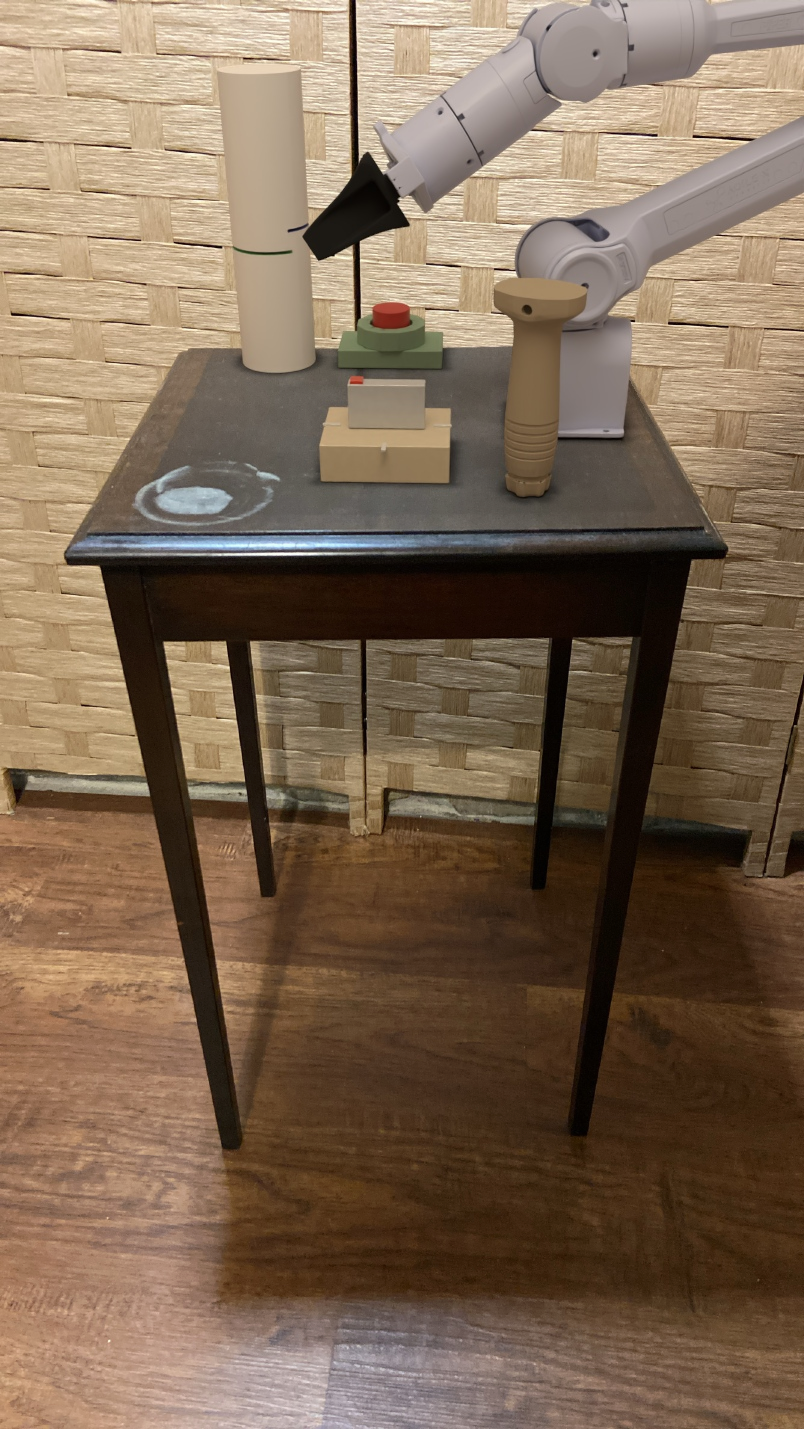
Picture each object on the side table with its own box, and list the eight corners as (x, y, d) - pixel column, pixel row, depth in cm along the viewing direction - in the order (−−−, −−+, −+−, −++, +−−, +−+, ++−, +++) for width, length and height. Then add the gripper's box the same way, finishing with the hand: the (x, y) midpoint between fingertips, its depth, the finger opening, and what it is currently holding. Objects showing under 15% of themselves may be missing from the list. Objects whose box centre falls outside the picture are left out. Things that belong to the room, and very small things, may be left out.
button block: (442, 347, 113) (443, 312, 111) (441, 369, 108) (442, 332, 106) (343, 346, 114) (342, 311, 112) (338, 368, 108) (336, 332, 106)
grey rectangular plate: (425, 422, 89) (425, 376, 87) (424, 429, 88) (425, 382, 86) (350, 421, 90) (348, 375, 87) (348, 428, 88) (346, 381, 86)
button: (410, 320, 110) (410, 302, 109) (409, 331, 108) (409, 313, 106) (373, 320, 111) (373, 301, 110) (371, 331, 108) (371, 313, 107)
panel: (451, 437, 95) (452, 401, 93) (450, 489, 86) (451, 450, 85) (330, 436, 95) (329, 399, 93) (318, 487, 87) (315, 449, 85)
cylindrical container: (330, 359, 111) (318, 67, 96) (275, 378, 106) (254, 76, 92) (282, 343, 115) (263, 61, 100) (227, 360, 110) (199, 68, 96)
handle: (556, 510, 83) (573, 303, 74) (476, 494, 86) (483, 291, 77) (577, 485, 87) (596, 284, 78) (500, 470, 89) (509, 274, 80)
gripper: (423, 89, 88) (283, 198, 91) (437, 71, 75) (274, 199, 77) (472, 171, 90) (335, 275, 93) (495, 168, 77) (334, 289, 80)
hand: (311, 246), depth 85 cm, fingers open, 7 cm apart
